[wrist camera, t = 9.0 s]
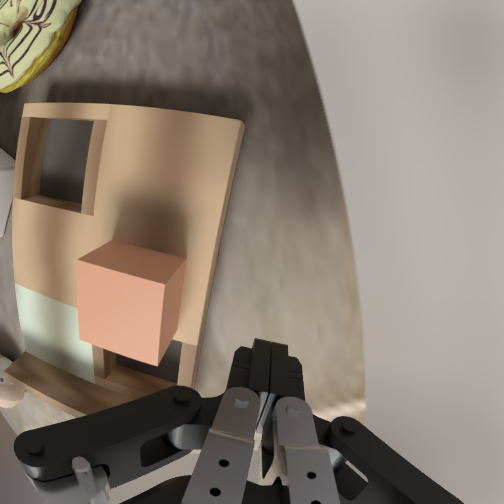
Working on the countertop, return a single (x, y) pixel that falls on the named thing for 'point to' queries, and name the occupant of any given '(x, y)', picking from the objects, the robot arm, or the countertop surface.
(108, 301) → the block
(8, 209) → the medicine bottle
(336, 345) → the countertop surface
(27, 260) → the board
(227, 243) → the countertop surface
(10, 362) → the garlic bulb
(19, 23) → the decorated donut
